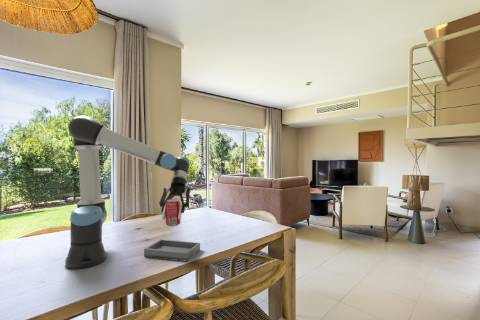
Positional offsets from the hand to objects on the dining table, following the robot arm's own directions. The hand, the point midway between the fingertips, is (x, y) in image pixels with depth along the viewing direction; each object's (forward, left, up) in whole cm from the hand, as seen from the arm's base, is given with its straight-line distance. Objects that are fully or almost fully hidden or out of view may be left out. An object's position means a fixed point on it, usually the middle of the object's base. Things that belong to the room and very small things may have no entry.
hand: (171, 218), depth 112 cm
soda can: (-1, +3, -4) cm, 5 cm away
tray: (-1, +4, -18) cm, 18 cm away
